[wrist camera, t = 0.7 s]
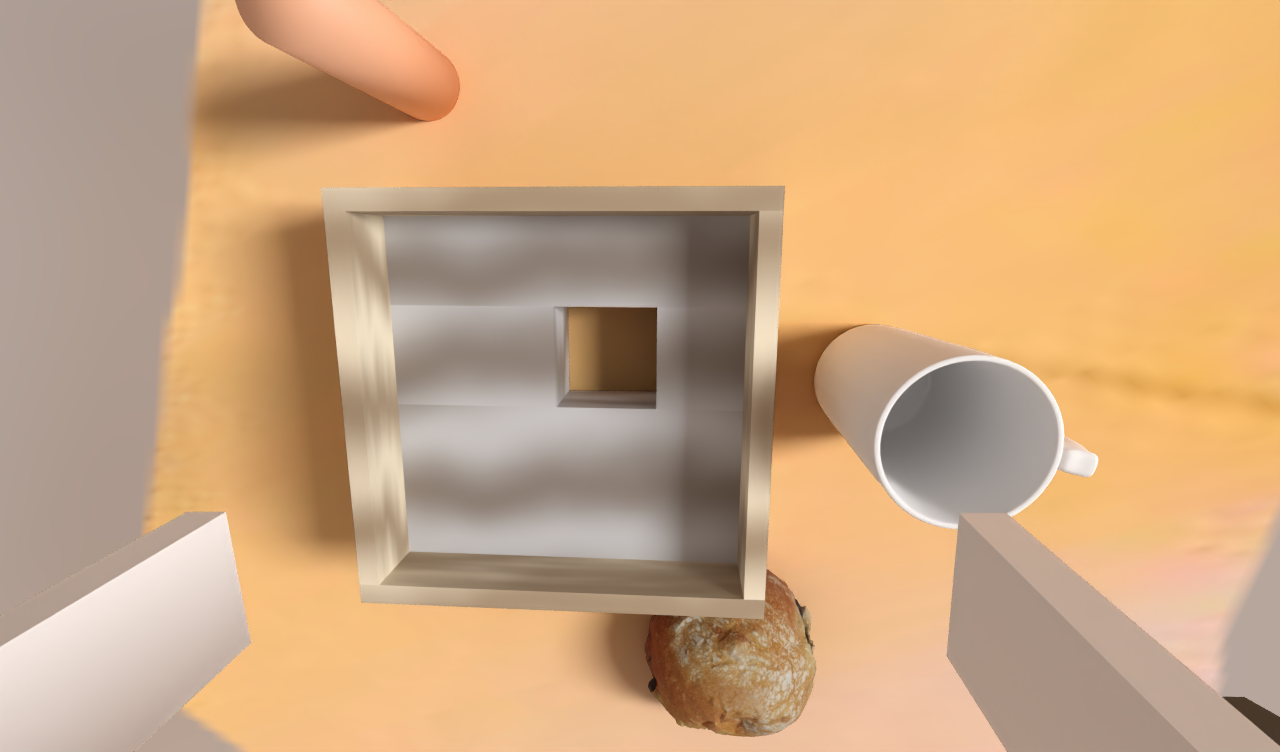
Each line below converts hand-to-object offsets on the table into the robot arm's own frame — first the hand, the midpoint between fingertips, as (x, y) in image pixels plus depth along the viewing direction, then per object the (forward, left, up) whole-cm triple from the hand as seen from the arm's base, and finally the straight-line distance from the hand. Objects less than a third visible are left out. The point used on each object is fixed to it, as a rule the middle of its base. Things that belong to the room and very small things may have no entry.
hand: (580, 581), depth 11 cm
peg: (-15, -12, -24) cm, 31 cm away
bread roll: (+18, +5, -25) cm, 31 cm away
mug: (+1, +14, -25) cm, 28 cm away
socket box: (+1, -4, -24) cm, 25 cm away
